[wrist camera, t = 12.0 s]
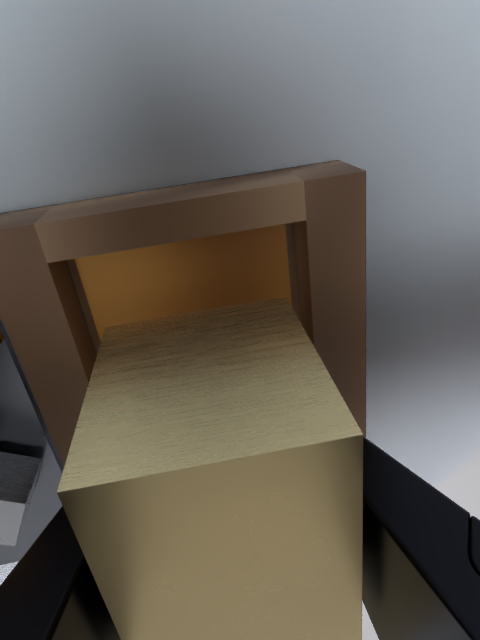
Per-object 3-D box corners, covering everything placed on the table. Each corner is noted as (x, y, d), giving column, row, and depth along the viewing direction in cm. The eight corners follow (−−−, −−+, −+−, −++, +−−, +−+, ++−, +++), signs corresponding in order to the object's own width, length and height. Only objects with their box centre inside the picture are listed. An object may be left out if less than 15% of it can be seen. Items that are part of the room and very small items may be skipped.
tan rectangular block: (285, 296, 9) (363, 434, 5) (301, 481, 11) (362, 664, 7) (105, 326, 9) (57, 492, 5) (158, 508, 11) (151, 711, 7)
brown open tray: (338, 160, 10) (366, 171, 8) (346, 460, 14) (365, 501, 13) (-4, 213, 9) (-34, 235, 8) (109, 508, 14) (101, 556, 12)
